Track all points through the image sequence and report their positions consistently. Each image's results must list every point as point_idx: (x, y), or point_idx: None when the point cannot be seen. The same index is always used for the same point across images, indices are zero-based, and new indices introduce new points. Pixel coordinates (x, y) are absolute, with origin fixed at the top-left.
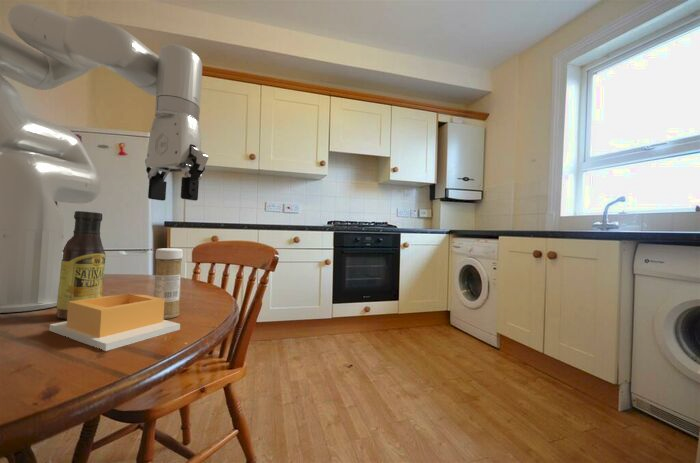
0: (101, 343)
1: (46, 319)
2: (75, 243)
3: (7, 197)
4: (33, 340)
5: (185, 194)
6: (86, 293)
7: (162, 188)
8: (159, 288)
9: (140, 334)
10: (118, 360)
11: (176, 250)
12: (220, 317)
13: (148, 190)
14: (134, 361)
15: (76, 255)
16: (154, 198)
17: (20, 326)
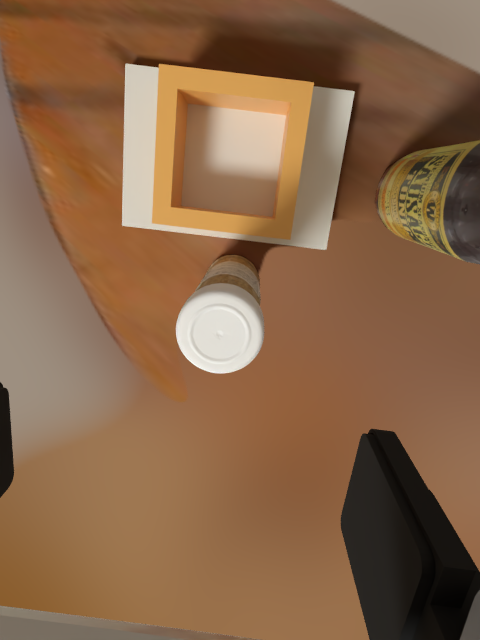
0: (142, 66)
1: (449, 144)
2: None
3: None
4: (312, 41)
5: None
6: (395, 184)
7: (370, 582)
8: (220, 267)
9: (125, 135)
10: (67, 48)
11: (176, 326)
12: (127, 330)
13: (413, 467)
14: (40, 58)
15: (476, 151)
16: (357, 453)
17: (441, 84)
